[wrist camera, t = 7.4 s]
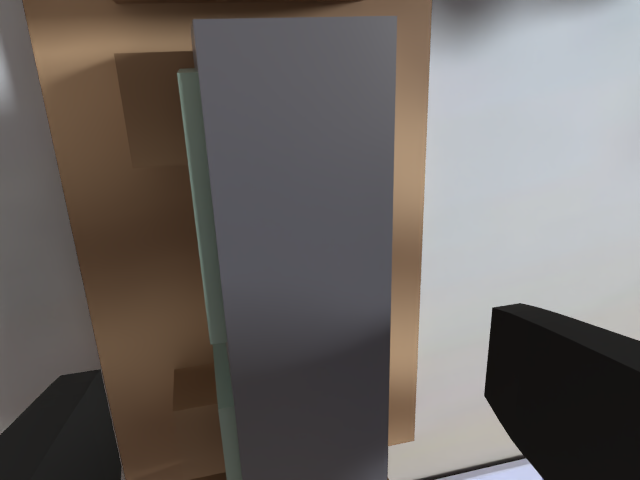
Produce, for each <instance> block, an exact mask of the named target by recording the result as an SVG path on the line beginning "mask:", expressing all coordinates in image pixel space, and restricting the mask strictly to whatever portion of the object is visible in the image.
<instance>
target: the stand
mask: <svg viewBox="0 0 640 480" xmlns="http://www.w3.org/2000/svg"><path fill="white" fill-rule="evenodd" d="M22 2H23V6H24V11H25V16H26V20H27V25H28V30H29V34H30V39H31V44H32V48H33V53H34V57H35V62H36V67H37V71H38V76H39V81H40V85H41V90H42V94H43V99H44V104H45V108H46V113H47V118H48V122H49V127H50V132H51V136H52V141H53V145H54V150H55V155H56V159H57V164H58V169H59V173H60V178H61V182H62V187H63V192H64V196H65V201H66V206H67V210H68V215H69V220H70V224H71V229H72V233H73V238H74V243H75V247H76V252H77V257H78V261H79V266H80V271H81V275H82V280H83V284H84V289H85V294H86V298H87V303H88V308H89V312H90V317H91V321H92V326H93V331H94V335H95V340H96V345H97V349H98V354H99V359H100V363H101V368H102V372H103V377H104V382H105V386H106V391H107V396H108V400H109V405H110V410H111V414H112V419H113V423H114V428H115V433H116V437H117V442H118V447H119V451H120V456H121V460H122V465H123V470H124V474H125V479H126V480H227V477H226V469H225V461H224V453H223V445H222V437H221V428H220V420H219V412H218V402H217V391H216V379H215V368H214V357H213V346H212V345H210V338H209V330H208V322H207V314H206V306H205V298H204V289H203V281H202V273H201V265H200V257H199V248H198V240H197V232H196V224H195V216H194V208H193V199H192V191H191V183H190V175H189V167H188V158H187V150H186V142H185V134H184V126H183V118H182V109H181V101H180V93H179V85H178V77H177V72H178V71H179V69H185V68H194V59H193V49H192V40H191V26H192V20H193V19H234V18H295V17H355V16H397V46H396V94H395V141H394V189H393V237H392V284H391V332H390V379H389V427H388V446H392V445H396V444H401V443H406V442H410V441H414V431H415V406H416V382H417V357H418V333H419V308H420V283H421V259H422V234H423V209H424V185H425V160H426V136H427V111H428V86H429V62H430V37H431V13H432V0H22ZM387 480H389V479H388V477H387Z"/></svg>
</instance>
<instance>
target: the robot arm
mask: <svg viewBox="0 0 640 480" xmlns="http://www.w3.org/2000/svg"><path fill="white" fill-rule="evenodd" d="M484 396H485V398H486V399H487V401H488V403H489V404H490V406H491V408H492V409H493V411H494V413H495V414H496V416H497V418H498V419H499V421H500V423H501V424H502V426H503V427H504V429H505V430H506V432H507V433H508V435H509V437H510V438H511V440H512V441H513V442H514V444H515V445H516V446H517V447H518V449H519V450H520V451H521V452H522V454H523V455H524V456H525V457H526V458H525V459H521V460H517V461H513V462H508V463H504V464H500V465H495V466H491V467H487V468H483V469H478V470H474V471H470V472H466V473H461V474H457V475H453V476H448V477H444V478H440V479H436V480H640V341H638V340H635V339H632V338H629V337H626V336H623V335H620V334H617V333H614V332H612V331H609V330H606V329H603V328H600V327H597V326H594V325H591V324H588V323H585V322H582V321H579V320H576V319H573V318H570V317H567V316H564V315H561V314H558V313H555V312H552V311H548V310H545V309H542V308H538V307H534V306H530V305H526V304H521V303H519V304H513V305H507V306H500V307H494V308H492V318H491V329H490V340H489V350H488V361H487V372H486V382H485V393H484ZM0 480H121V463H120V458H119V454H118V449H117V444H116V440H115V435H114V430H113V426H112V421H111V417H110V412H109V407H108V403H107V398H106V393H105V389H104V384H103V379H102V375H101V370H93V371H87V372H81V373H74V374H68V375H62V376H60V377H59V378H58V379H56V380H55V381H54V382H53V383H52V384H51V385H50V386H49V387H48V388H47V389H46V390H45V391H44V392H43V393H42V394H41V395H40V396H39V397H38V398H37V399H36V400H35V401H34V402H33V403H32V404H31V405H30V406H29V407H28V408H27V409H26V410H25V411H24V412H23V413H22V414H21V415H20V416H19V417H18V418H17V419H16V420H15V421H14V422H13V423H12V424H11V425H10V426H9V427H8V428H7V429H6V430H5V431H4V432H3V433H2V434H1V435H0Z"/></svg>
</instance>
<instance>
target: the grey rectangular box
mask: <svg viewBox="0 0 640 480" xmlns="http://www.w3.org/2000/svg"><path fill="white" fill-rule="evenodd" d="M191 40H192V49H193V59H194V68H185V69H179V71H178V72H177V77H178V85H179V93H180V101H181V109H182V118H183V126H184V134H185V142H186V150H187V158H188V167H189V175H190V183H191V191H192V199H193V208H194V216H195V224H196V232H197V240H198V248H199V257H200V265H201V273H202V281H203V289H204V298H205V306H206V314H207V322H208V330H209V338H210V345H212V346H213V357H214V368H215V379H216V391H217V402H218V412H219V420H220V428H221V437H222V445H223V453H224V461H225V469H226V477H227V480H387V474H388V427H389V379H390V332H391V284H392V237H393V189H394V141H395V94H396V46H397V16H355V17H295V18H234V19H193V20H192V26H191Z"/></svg>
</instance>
